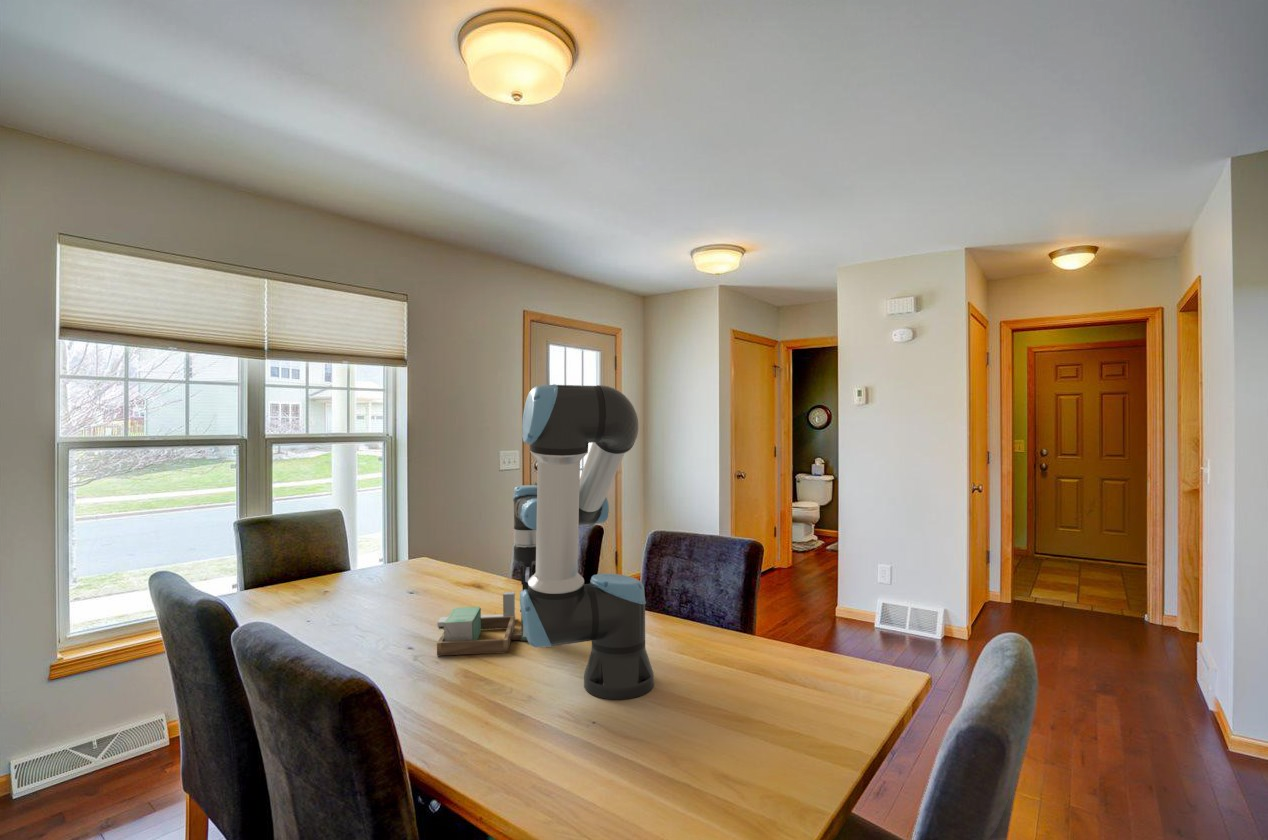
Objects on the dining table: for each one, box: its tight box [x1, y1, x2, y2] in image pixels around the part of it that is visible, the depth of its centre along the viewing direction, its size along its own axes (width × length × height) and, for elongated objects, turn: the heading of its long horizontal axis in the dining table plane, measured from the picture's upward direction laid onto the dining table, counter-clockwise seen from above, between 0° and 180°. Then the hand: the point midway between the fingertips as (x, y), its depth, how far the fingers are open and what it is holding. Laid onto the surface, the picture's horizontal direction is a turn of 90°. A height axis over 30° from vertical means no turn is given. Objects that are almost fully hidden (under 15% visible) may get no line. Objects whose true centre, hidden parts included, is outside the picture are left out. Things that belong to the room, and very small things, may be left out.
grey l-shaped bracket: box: [436, 590, 516, 628], centre depth 173 cm, size 5×21×8 cm, turn 96°
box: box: [443, 606, 482, 641], centre depth 158 cm, size 7×14×8 cm, turn 6°
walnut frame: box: [436, 613, 528, 657], centre depth 159 cm, size 19×23×11 cm
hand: (528, 633), depth 160 cm, fingers closed on walnut frame, 4 cm apart
